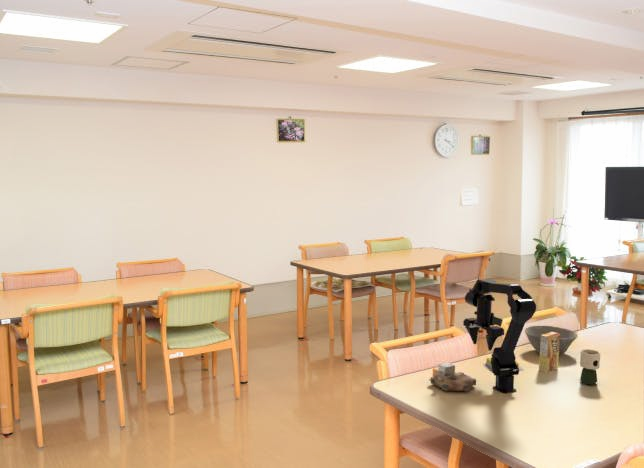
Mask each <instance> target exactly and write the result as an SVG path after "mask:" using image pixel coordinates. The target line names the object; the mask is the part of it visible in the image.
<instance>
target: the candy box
mask: <svg viewBox="0 0 644 468" xmlns="http://www.w3.org/2000/svg"><path fill="white" fill-rule="evenodd" d="M559 345H560V334H559V333H555V332H550V333H546V334H543V335H541V343H540V353H539V358H538V361H539V362H538V370H539V371H542V372H545V373H548V372H552V371H553V370H556V369H559Z"/></svg>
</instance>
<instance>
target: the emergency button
mask: <svg viewBox="0 0 644 468" xmlns="http://www.w3.org/2000/svg"><path fill="white" fill-rule="evenodd" d="M491 358H492V357H486V359H485V360H486V362H485V363H483V364H482V365H483V366H484V367H485V368H486V369H487V370H489V371H490V370H491V372H492V366H491ZM515 362H516V364H517V366H518V369H519V371H524V368H523V367H522V366H520V364H519V363H518V362H517V360H515ZM501 370H510V369H509V368H508V369H501Z"/></svg>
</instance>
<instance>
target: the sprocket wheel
mask: <svg viewBox="0 0 644 468" xmlns="http://www.w3.org/2000/svg"><path fill="white" fill-rule="evenodd" d="M430 384H431V385H435V386H436V387H438V388H441V390H443V391H455V392H456V391H458V392H459V391H460V392H461V391H462V392H463V391H464V392H470V390H471V389H472V388H473V386H477V379H476V378H472V377H471V376H469V375H468V374H465V373H464V372H460V371H458V372H456V371H455V376H449V377H444V371H443V370H439V373H438V374H436V375H434V377H433V376H430Z"/></svg>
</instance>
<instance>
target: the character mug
mask: <svg viewBox="0 0 644 468" xmlns="http://www.w3.org/2000/svg"><path fill="white" fill-rule="evenodd" d="M579 359H580V360H579V366H580V367H582V369H581V373H580V382H582V383H583V384H584V383H585V384H586V385H591V386H594V385H597V383H598V375H597V370H599V368H600V367H601V366H600V362H601V352H600V351H598V350H595V349H591V348H589V349H588V348H586V349H585V348H583V349H581V350H580V358H579Z"/></svg>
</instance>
